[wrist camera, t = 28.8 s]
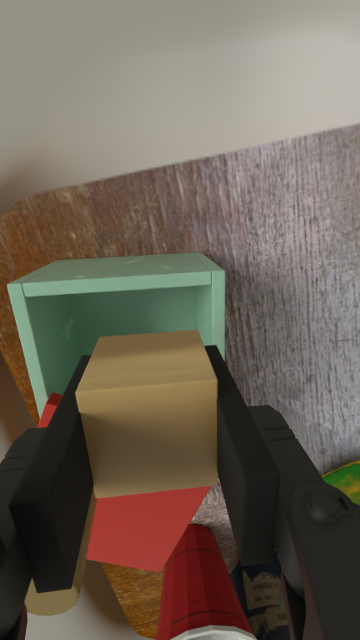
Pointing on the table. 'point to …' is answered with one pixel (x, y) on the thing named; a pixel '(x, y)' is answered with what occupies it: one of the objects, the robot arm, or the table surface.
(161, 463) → the block
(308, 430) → the table surface
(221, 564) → the plastic cup
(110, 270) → the tin
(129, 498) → the lid
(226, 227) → the table surface
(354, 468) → the figurine
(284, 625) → the canister
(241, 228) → the table surface
